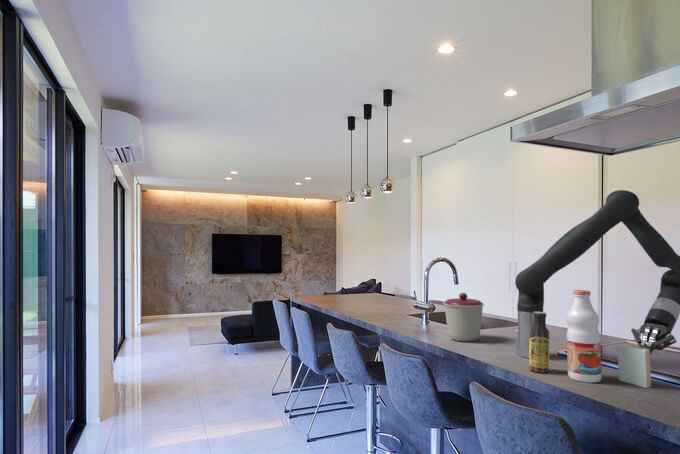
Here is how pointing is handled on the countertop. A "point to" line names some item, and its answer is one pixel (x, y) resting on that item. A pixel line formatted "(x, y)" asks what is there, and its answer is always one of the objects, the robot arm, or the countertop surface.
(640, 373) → the pale green flat block
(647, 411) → the countertop surface
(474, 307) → the canister
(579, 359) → the fruit juice
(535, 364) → the sauce bottle
